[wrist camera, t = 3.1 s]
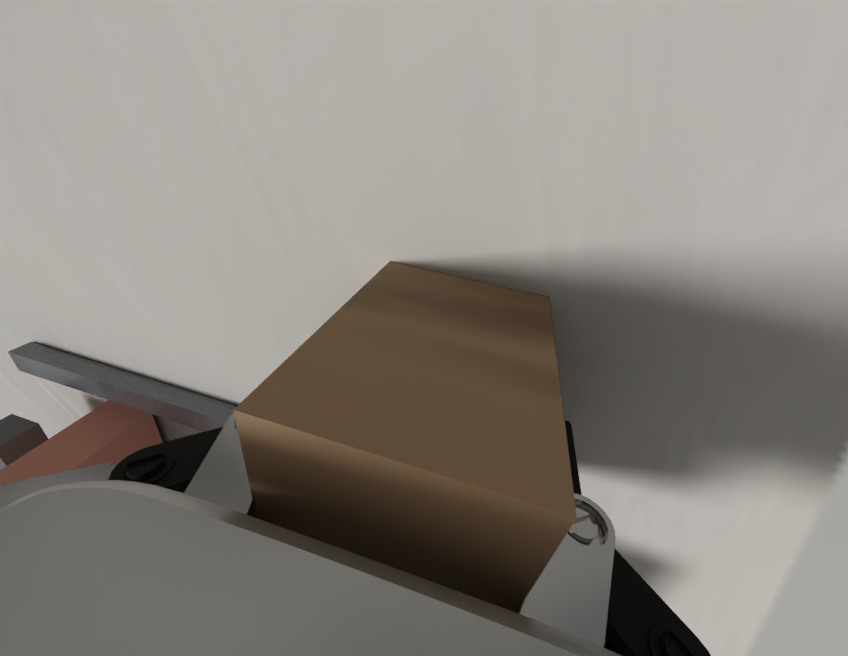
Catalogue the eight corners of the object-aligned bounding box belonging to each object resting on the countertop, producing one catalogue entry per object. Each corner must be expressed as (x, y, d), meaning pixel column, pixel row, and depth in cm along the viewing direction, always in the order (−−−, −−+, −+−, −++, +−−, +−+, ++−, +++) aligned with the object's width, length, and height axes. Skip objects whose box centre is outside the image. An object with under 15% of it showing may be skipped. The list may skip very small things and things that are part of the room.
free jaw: (40, 375, 19) (-112, 451, 15) (151, 411, 18) (23, 506, 14) (97, 476, 24) (-5, 558, 19) (188, 509, 23) (102, 605, 18)
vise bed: (31, 341, 19) (-134, 411, 14) (548, 503, 14) (557, 678, 10) (113, 491, 25) (21, 571, 21) (480, 629, 21) (466, 767, 17)
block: (390, 261, 11) (232, 409, 5) (549, 297, 10) (576, 517, 4) (376, 417, 15) (275, 609, 9) (493, 452, 14) (468, 687, 8)
